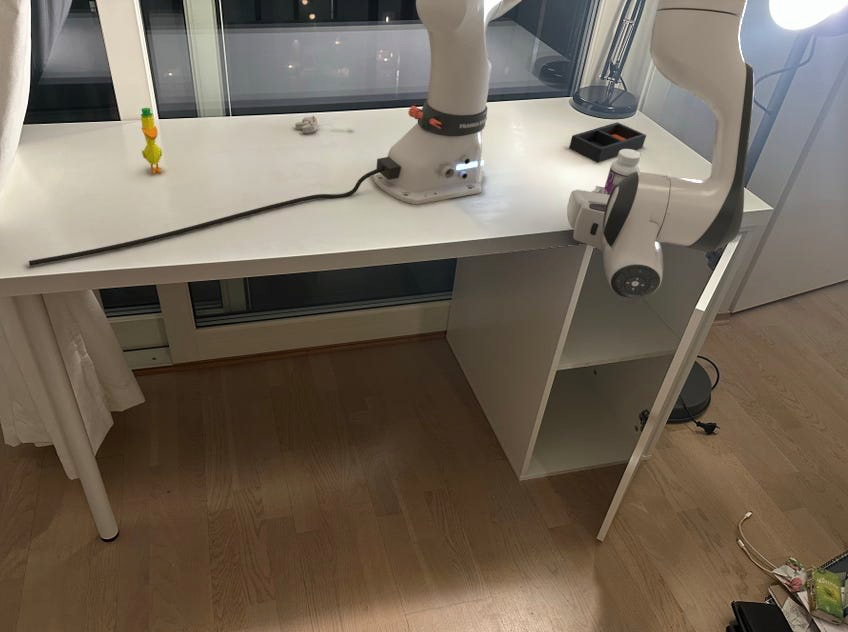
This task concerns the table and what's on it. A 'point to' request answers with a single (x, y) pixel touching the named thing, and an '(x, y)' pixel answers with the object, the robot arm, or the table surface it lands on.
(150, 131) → the toy figure
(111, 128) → the table surface
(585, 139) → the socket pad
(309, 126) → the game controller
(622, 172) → the pill bottle
